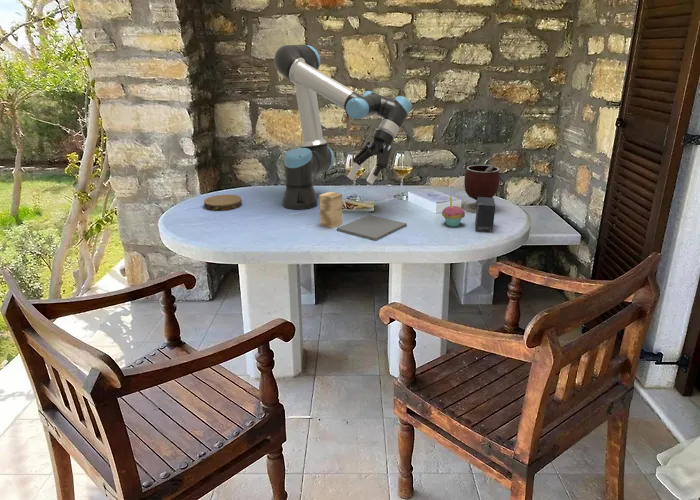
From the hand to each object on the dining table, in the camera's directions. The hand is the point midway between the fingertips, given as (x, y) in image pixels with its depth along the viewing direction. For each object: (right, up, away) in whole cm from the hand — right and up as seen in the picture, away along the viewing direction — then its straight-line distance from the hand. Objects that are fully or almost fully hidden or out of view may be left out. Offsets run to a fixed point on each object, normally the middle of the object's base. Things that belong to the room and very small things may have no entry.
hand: (359, 180), depth 199 cm
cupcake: (+36, -17, -2) cm, 40 cm away
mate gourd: (+51, -10, +16) cm, 54 cm away
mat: (+5, -19, -5) cm, 20 cm away
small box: (+47, -19, -5) cm, 51 cm away
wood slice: (-58, -8, +25) cm, 64 cm away
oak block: (-11, -17, 0) cm, 20 cm away
